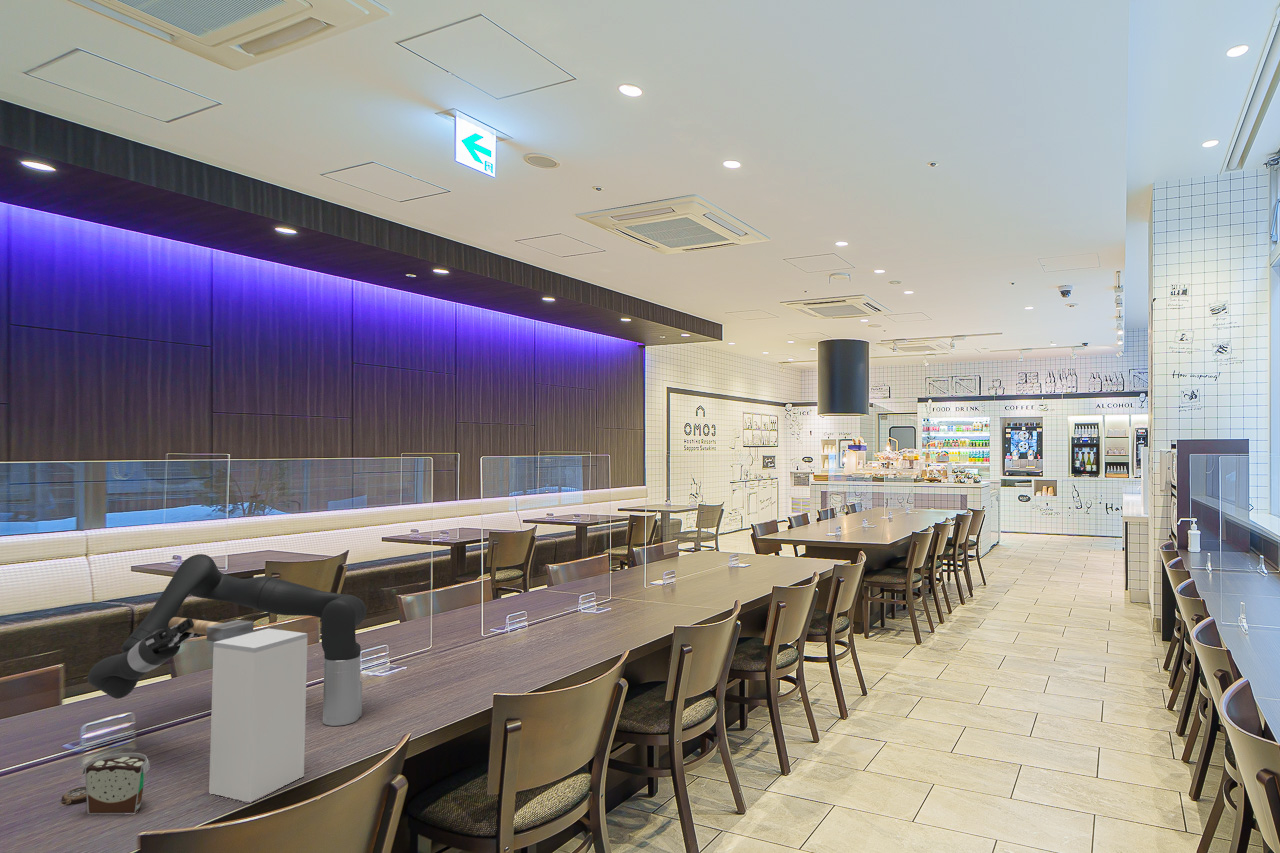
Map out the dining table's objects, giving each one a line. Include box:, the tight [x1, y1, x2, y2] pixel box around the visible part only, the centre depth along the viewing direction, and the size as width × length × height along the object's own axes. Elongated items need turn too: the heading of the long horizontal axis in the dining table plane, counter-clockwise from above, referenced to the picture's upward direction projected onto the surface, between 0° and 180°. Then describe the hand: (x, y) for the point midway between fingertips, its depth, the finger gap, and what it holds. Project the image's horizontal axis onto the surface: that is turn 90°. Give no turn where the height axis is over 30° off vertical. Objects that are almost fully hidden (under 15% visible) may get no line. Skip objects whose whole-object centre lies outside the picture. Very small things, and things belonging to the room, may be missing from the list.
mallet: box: [168, 616, 255, 643], centre depth 173 cm, size 21×8×3 cm, turn 68°
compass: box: [59, 785, 87, 806], centre depth 155 cm, size 8×8×7 cm
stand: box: [208, 628, 309, 802], centre depth 163 cm, size 14×12×32 cm
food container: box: [81, 752, 150, 815], centre depth 152 cm, size 12×6×10 cm, turn 92°
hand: (198, 620), depth 174 cm, fingers closed on mallet, 3 cm apart
